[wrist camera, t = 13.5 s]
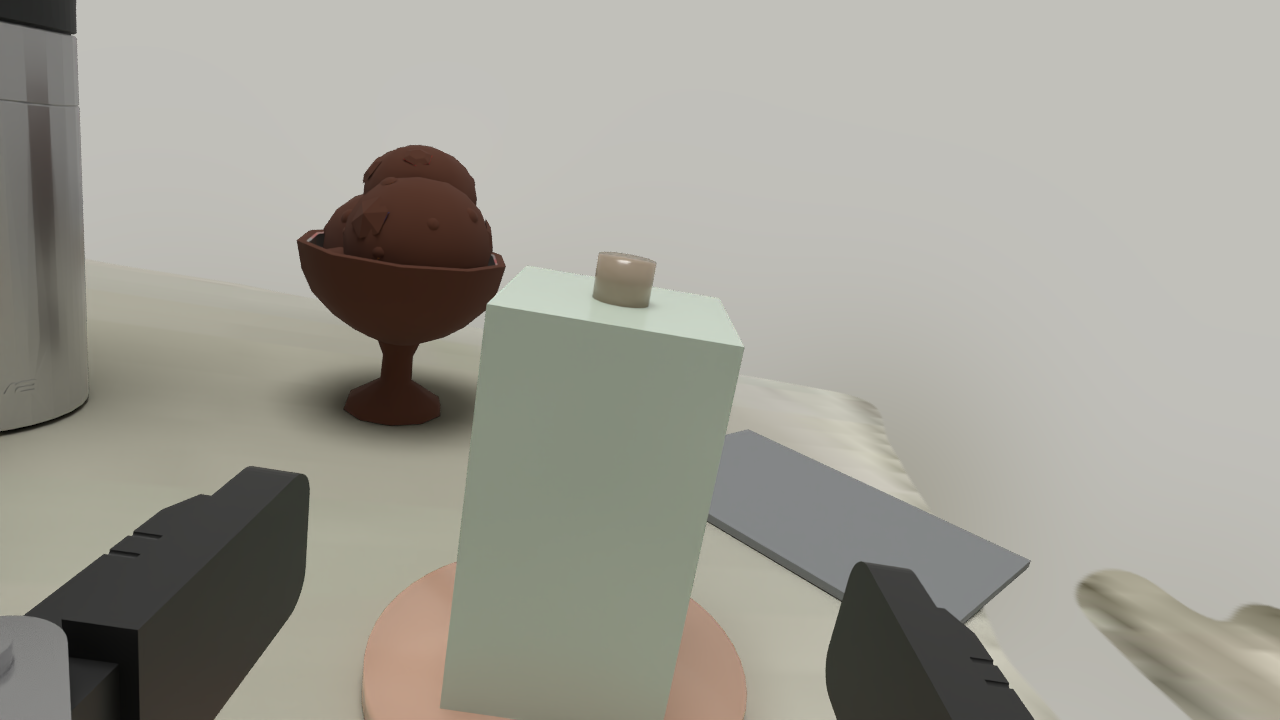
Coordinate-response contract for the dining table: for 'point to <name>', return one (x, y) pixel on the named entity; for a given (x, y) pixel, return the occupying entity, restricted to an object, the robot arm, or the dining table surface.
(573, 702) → the tall green carton
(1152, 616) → the dining table surface
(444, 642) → the saucer
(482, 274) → the ice cream bowl
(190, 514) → the robot arm
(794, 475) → the mat
